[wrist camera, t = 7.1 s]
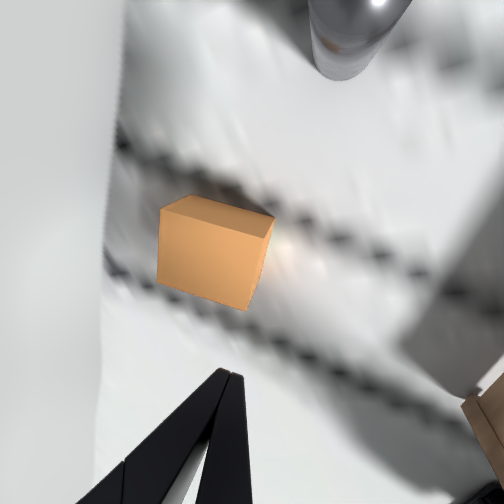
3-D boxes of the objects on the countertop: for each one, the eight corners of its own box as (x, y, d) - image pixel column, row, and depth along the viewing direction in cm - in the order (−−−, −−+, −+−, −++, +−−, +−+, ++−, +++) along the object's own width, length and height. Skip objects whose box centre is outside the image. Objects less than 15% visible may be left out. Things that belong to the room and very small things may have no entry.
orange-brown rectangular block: (275, 217, 17) (263, 238, 14) (259, 279, 20) (245, 311, 16) (191, 193, 18) (160, 208, 14) (185, 256, 20) (156, 282, 17)
